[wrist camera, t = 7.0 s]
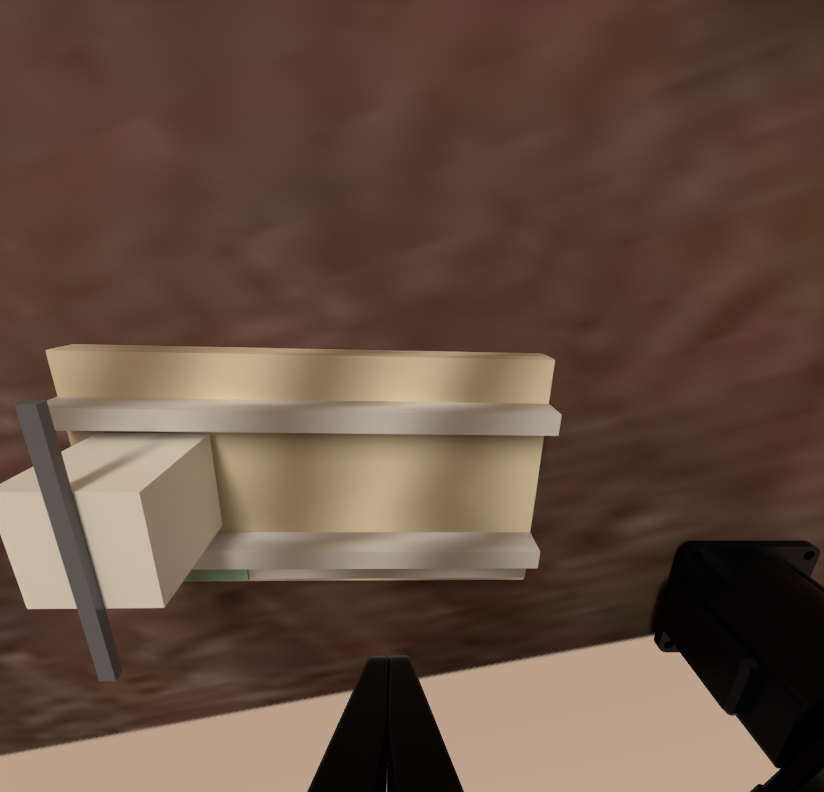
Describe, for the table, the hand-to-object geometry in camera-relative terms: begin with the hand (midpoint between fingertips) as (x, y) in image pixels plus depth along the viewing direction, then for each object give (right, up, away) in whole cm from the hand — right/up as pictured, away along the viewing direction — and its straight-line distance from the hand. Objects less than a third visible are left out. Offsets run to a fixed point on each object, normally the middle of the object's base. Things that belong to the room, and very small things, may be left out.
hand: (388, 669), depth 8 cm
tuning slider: (-9, +2, +7) cm, 12 cm away
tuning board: (-3, +3, +8) cm, 9 cm away
